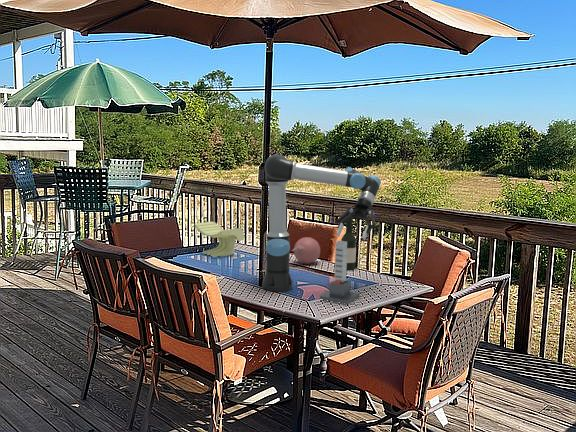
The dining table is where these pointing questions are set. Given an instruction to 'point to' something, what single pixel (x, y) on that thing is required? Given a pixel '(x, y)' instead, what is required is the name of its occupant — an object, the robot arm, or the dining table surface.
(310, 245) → the pink rounded ovoid
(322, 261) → the dining table surface
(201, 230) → the slatted curved stool
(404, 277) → the dining table surface
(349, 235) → the wine bottle
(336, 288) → the stand
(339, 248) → the column
